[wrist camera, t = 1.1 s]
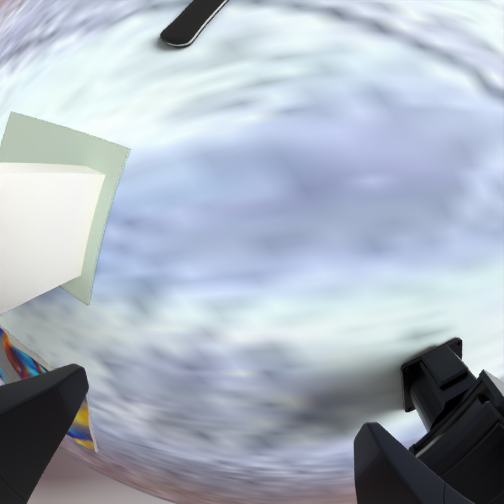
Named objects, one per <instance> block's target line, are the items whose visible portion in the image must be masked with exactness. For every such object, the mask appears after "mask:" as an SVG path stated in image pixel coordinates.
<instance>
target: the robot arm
mask: <svg viewBox="0 0 504 504" xmlns="http://www.w3.org/2000/svg"><path fill="white" fill-rule="evenodd" d="M407 368H408V369H407ZM406 369H407V370H406ZM401 378H402V389H403V403H404V410H405V412H410V411H413V410H415V409H416V410H417V412H418V414H419V416H420V418H421V420H422V422H423V424H424V426H425V428H426V430H427V432H428V433H427V434H426V435H425V436H423V437H422V438H421V439H420V440H419V441H418V442H417V443H416V444H413V445H412V446H411V447H410V448H409V450H407V449H406V448H405V447H404V446H403V445H402V444H401V443H400V442H399V441H397V440H396V439H395V438H394V437H393V436H392V435H391V434H390V433H389V432H388V431H386V430H385V429H384V428H383V427H382V426H381V425H380V424H379V423H377V422H366V423H365V424H363V426H362V428H361V429H360V431H359V432H358V434H357V436H356V437H355V439H354V477H355V489H356V496H357V504H504V383H503V382H502V381H501V380H499V379H498V378H496V377H494V376H493V375H491V374H490V373H488V372H487V371H485V370H484V369H483V370H482V372H481V373H480V374H479V377H478V378H476V377H475V376H474V375H473V374H472V373H471V371H470V370H469V369H468V367H467V366H466V365H465V364H464V362H463V361H462V340H461V339H460V338H456V339H454V340H452V341H450V342H448V343H446V344H445V345H443V346H441V347H439V348H437V349H435V350H433V351H431V352H429V353H427V354H425V355H423V356H421V357H419V358H417V359H415V360H412V361H410V362H408V363H406V364H404V365H403V366H402V367H401ZM88 389H89V384H88V380H87V376H86V372H85V369H84V368H83V367H81V366H79V365H77V364H70V365H67V366H64V367H61V368H58V369H54V370H51V371H48V372H45V373H42V374H39V375H35V376H32V377H29V378H26V379H22V380H19V381H15V382H12V383H8V384H5V385H1V386H0V504H27V502H28V500H29V498H30V496H31V494H32V492H33V490H34V488H35V487H36V485H37V483H38V481H39V479H40V478H41V476H42V474H43V472H44V470H45V469H46V467H47V465H48V463H49V462H50V460H51V458H52V456H53V455H54V453H55V451H56V450H57V448H58V446H59V445H60V443H61V441H62V440H63V438H64V437H65V435H66V433H67V432H68V430H69V428H70V427H71V425H72V423H73V421H74V419H75V417H76V415H77V413H78V411H79V409H80V407H81V405H82V402H83V400H84V398H85V396H86V394H87V392H88Z"/></svg>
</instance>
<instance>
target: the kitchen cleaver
mask: <svg viewBox="0 0 504 504" xmlns="http://www.w3.org/2000/svg"><path fill="white" fill-rule="evenodd" d="M228 1H229V0H194V1H193V2H192V3H191V4H190V5H189V6H188V7H187V8H186V9H185V10H184V11H183V12H182V13H181V14H180V15H179V16H178V17H177V18H176V19H175V20H174V21H173V22H172V23H171V24H170V25H169V26H168V27H167V28H166V29H164V30H163V31H162V33H161V34H160V37H161V39H162V40H163V41H164V42H165V43H167V44H168V45H171V46H173V47H177V48H183V47H187V46H189V45H191V44H192V43H193V42H194V41H195V39H196V38H197V37H198V35H199V34H200V33H201V31H202V30H203V29H204V27H205V26H206V25H207V24H208V23H209V22H210V21H211V19H212V18H213V17H214V16H215V15H216V14H217V13H218V12H219V10H220V9H221V8H222V7H223V6H224V5H225V4H226V3H227V2H228Z"/></svg>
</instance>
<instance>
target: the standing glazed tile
mask: <svg viewBox="0 0 504 504" xmlns="http://www.w3.org/2000/svg"><path fill="white" fill-rule="evenodd" d="M104 178H105V174H103V173H101V172H98V171H96V170H94V169H91V168H89V167H87V166H77V165H62V164H43V163H0V315H2V314H4V313H6V312H8V311H10V310H12V309H13V308H15V307H17V306H19V305H21V304H23V303H25V302H27V301H29V300H31V299H33V298H35V297H37V296H39V295H41V294H43V293H45V292H47V291H49V290H51V289H53V288H55V287H57V286H59V285H61V284H63V283H66V282H68V281H70V280H72V279H74V278H76V277H78V276H80V275H81V271H82V266H83V260H84V255H85V250H86V245H87V241H88V236H89V232H90V227H91V223H92V219H93V216H94V212H95V208H96V204H97V201H98V197H99V194H100V191H101V187H102V184H103V181H104Z"/></svg>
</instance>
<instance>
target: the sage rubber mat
mask: <svg viewBox="0 0 504 504" xmlns="http://www.w3.org/2000/svg"><path fill="white" fill-rule="evenodd" d="M130 150H131V149H129V148H127V147H124V146H121V145H118V144H115V143H112V142H109V141H107V140H104V139H101V138H98V137H95V136H92V135H89V134H86V133H83V132H80V131H76V130H73V129H70V128H67V127H64V126H60V125H57V124H54V123H51V122H47V121H44V120H40V119H37V118H33V117H30V116H26V115H22V114H19V113H15V112H11V113H10V116H9V119H8V122H7V125H6V128H5V132H4V135H3V139H2V142H1V146H0V163H43V164H62V165H77V166H87V167H89V168H91V169H94V170H96V171H98V172H101V173H103V174H105V178H104V181H103V184H102V187H101V191H100V194H99V197H98V201H97V204H96V208H95V212H94V216H93V219H92V223H91V227H90V232H89V236H88V241H87V245H86V250H85V255H84V260H83V266H82V271H81V275H80V276H78V277H76V278H74V279H72V280H70V281H68V282H66V283H63V284H61V285H59V286H60V287H62V288H63V289H64V290H66V291H67V292H69V293H70V294H71V295H73V296H74V297H76V298H77V299H79V300H80V301H82V302H83V303H84V304H86V305H87V306H88V305H89V304H90V297H91V291H92V285H93V280H94V275H95V270H96V265H97V260H98V255H99V251H100V247H101V243H102V238H103V234H104V231H105V227H106V223H107V219H108V216H109V212H110V209H111V206H112V202H113V199H114V196H115V193H116V189H117V186H118V183H119V180H120V177H121V175H122V172H123V169H124V166H125V163H126V161H127V158H128V155H129V153H130Z"/></svg>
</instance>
